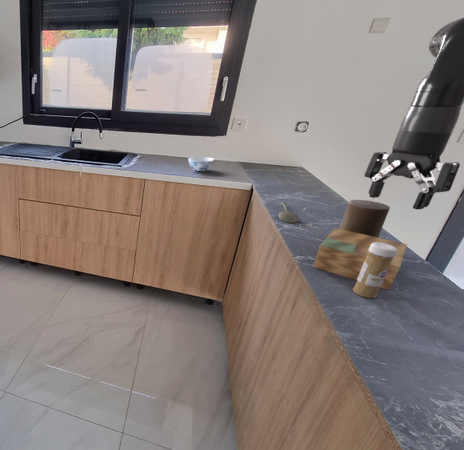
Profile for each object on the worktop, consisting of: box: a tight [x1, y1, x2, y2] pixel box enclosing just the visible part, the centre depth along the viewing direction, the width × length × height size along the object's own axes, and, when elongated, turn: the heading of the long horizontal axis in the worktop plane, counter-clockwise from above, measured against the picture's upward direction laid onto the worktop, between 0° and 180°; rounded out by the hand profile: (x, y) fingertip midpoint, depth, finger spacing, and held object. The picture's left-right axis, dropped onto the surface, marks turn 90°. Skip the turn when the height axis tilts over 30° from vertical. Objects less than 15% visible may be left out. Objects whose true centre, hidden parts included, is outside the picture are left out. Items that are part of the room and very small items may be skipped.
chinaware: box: [187, 156, 215, 172], centre depth 198 cm, size 15×15×8 cm
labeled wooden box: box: [312, 227, 408, 291], centre depth 88 cm, size 16×18×7 cm
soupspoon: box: [278, 201, 299, 224], centre depth 128 cm, size 22×3×7 cm
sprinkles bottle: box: [352, 242, 397, 299], centre depth 75 cm, size 5×5×13 cm
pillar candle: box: [338, 199, 391, 238], centre depth 100 cm, size 10×10×15 cm
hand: (394, 202), depth 71 cm, fingers open, 8 cm apart
